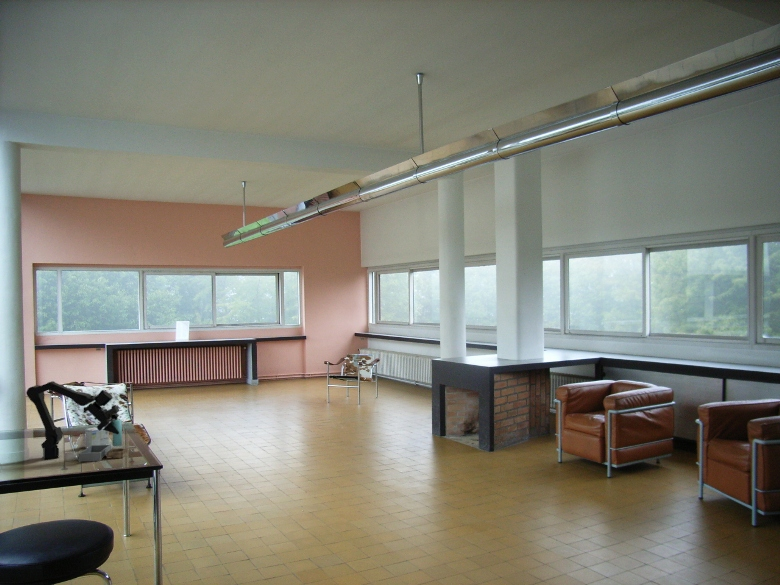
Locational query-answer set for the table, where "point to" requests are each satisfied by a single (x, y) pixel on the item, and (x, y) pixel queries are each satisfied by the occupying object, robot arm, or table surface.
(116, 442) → the dowel
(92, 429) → the light bulb box
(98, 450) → the tray
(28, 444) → the table surface
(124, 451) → the socket block
